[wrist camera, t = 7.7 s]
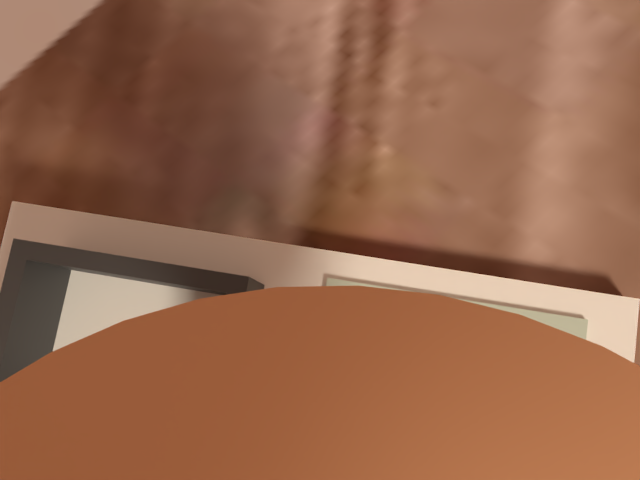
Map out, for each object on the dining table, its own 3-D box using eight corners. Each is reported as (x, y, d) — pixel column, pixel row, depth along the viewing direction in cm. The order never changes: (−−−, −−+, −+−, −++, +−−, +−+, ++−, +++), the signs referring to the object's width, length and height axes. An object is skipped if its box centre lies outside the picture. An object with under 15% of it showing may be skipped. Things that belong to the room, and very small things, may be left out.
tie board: (-45, 495, 22) (-134, 529, 18) (26, 206, 24) (-41, 180, 20) (597, 628, 20) (655, 700, 16) (627, 300, 21) (686, 292, 18)
